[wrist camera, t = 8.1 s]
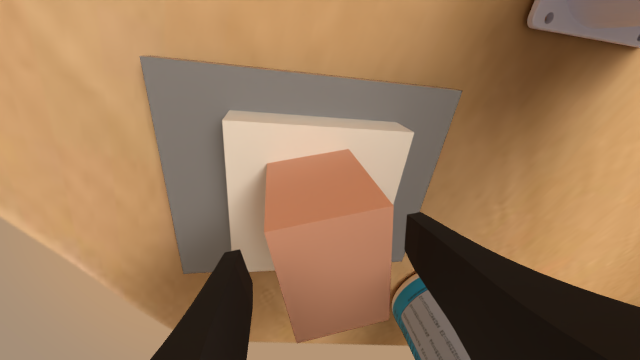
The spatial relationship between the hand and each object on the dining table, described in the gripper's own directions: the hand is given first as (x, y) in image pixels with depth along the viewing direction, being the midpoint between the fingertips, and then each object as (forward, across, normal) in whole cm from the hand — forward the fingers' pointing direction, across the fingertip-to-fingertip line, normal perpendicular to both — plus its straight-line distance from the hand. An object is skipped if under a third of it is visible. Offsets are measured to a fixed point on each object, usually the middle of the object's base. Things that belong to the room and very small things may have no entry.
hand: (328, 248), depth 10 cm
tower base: (+6, 0, 0) cm, 6 cm away
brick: (+3, 0, 0) cm, 3 cm away
